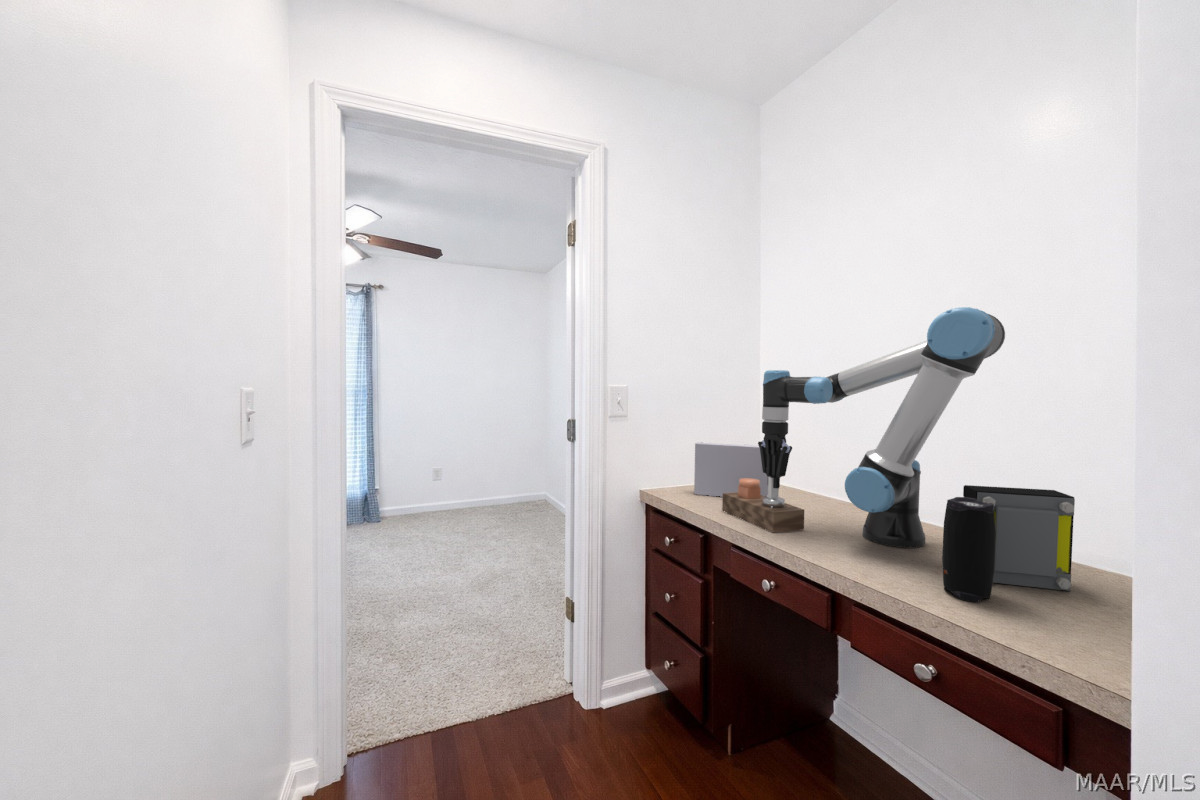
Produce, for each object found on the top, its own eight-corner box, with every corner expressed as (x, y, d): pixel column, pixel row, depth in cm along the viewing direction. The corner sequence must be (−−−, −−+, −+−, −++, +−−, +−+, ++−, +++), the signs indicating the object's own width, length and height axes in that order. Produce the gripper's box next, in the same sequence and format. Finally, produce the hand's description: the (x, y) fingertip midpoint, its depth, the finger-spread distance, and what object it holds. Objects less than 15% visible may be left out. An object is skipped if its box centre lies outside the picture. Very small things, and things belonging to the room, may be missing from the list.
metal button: (788, 519, 149) (789, 500, 149) (771, 521, 147) (771, 501, 147) (774, 514, 155) (775, 495, 155) (757, 515, 153) (758, 497, 153)
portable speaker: (946, 599, 100) (949, 503, 99) (937, 582, 108) (940, 494, 107) (999, 608, 96) (1002, 508, 95) (986, 590, 104) (989, 498, 104)
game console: (696, 491, 196) (697, 441, 196) (769, 498, 186) (770, 445, 185) (693, 494, 191) (694, 443, 190) (768, 501, 181) (769, 447, 180)
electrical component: (976, 584, 107) (980, 493, 107) (957, 567, 117) (961, 483, 117) (1076, 595, 102) (1081, 499, 102) (1048, 576, 112) (1052, 489, 111)
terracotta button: (763, 499, 160) (763, 481, 160) (746, 500, 158) (747, 482, 158) (751, 494, 166) (751, 477, 166) (735, 496, 164) (735, 478, 164)
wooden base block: (803, 529, 146) (804, 509, 146) (773, 533, 143) (773, 512, 142) (749, 508, 171) (750, 491, 171) (722, 510, 167) (722, 493, 167)
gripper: (800, 422, 145) (798, 502, 146) (771, 419, 157) (769, 492, 158) (779, 423, 143) (777, 504, 144) (751, 419, 155) (749, 494, 156)
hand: (773, 497), depth 151 cm, fingers closed
